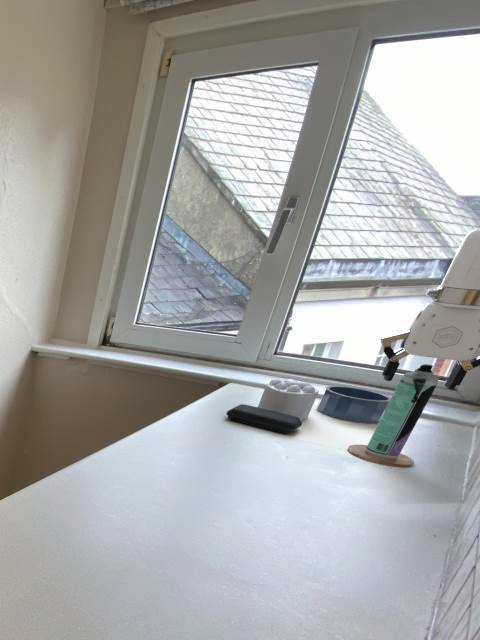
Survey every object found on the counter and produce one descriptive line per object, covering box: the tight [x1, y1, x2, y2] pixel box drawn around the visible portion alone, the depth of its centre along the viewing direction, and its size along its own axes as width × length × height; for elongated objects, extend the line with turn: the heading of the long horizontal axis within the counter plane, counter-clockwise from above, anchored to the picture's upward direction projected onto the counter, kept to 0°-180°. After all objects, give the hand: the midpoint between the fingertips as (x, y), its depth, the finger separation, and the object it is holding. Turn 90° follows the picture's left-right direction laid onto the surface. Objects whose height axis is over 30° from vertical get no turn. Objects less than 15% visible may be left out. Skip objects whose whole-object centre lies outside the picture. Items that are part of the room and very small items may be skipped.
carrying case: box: [226, 404, 303, 434], centre depth 138 cm, size 11×3×15 cm
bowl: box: [316, 385, 392, 425], centre depth 147 cm, size 14×14×6 cm
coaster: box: [347, 444, 415, 468], centre depth 121 cm, size 11×11×1 cm
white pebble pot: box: [257, 378, 320, 421], centre depth 144 cm, size 10×13×9 cm
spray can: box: [365, 363, 440, 459], centre depth 116 cm, size 6×6×20 cm
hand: (417, 383), depth 114 cm, fingers open, 9 cm apart
